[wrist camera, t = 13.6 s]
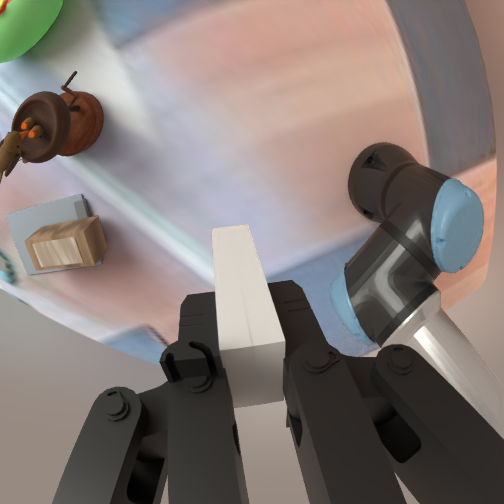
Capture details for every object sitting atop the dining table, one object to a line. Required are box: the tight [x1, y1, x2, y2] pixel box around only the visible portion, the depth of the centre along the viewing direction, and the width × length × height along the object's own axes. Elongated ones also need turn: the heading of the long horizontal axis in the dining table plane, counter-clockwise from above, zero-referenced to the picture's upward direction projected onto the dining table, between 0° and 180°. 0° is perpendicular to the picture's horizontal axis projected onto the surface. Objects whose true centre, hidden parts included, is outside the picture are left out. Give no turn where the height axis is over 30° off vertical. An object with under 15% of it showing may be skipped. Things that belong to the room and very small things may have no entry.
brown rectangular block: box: [24, 216, 108, 271], centre depth 42 cm, size 6×6×14 cm
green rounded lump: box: [0, 0, 64, 63], centre depth 17 cm, size 18×17×15 cm
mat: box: [5, 194, 103, 275], centre depth 44 cm, size 20×14×1 cm
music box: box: [0, 71, 103, 182], centre depth 27 cm, size 15×11×20 cm
